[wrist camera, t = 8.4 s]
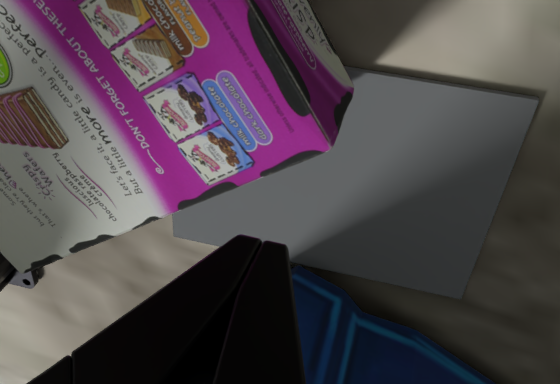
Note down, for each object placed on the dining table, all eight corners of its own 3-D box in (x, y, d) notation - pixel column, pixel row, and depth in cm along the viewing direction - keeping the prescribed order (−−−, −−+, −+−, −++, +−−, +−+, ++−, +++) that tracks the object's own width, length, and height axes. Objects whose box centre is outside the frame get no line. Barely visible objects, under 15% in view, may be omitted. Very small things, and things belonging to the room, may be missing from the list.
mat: (460, 294, 24) (461, 299, 24) (175, 232, 27) (173, 236, 26) (538, 96, 19) (539, 100, 18) (165, 37, 21) (162, 39, 20)
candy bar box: (191, -238, 15) (-86, 21, 23) (99, -261, 11) (-197, 61, 19) (363, 89, 20) (79, 215, 27) (339, 156, 16) (15, 281, 23)
